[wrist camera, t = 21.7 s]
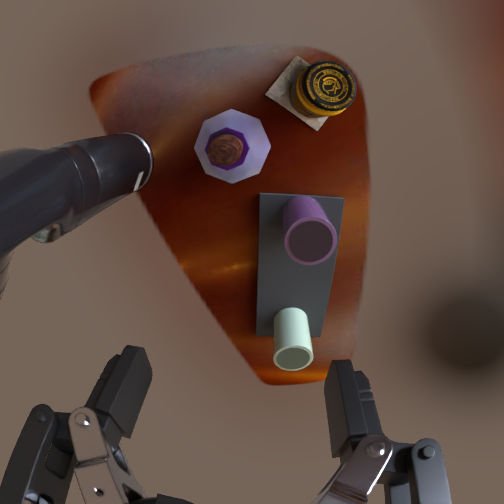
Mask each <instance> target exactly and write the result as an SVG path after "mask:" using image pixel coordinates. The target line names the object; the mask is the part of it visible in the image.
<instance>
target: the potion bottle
mask: <svg viewBox="0 0 504 504" xmlns="http://www.w3.org/2000/svg"><path fill="white" fill-rule="evenodd" d="M270 148H271V145H270V143H269V140H268V138H267V136H266V133H265V131H264V129H263V126H262V124H261V122H260V119H257V118H255V117H252V116H249V115H247V114H244V113H241V112H238V111H236V110H233V109H230V110H228V111H225V112H223V113H221V114H218V115H216V116H214V117H212V118H210V119H208V120H205V121H204V123H203V125H202V128H201V130H200V133H199V136H198V138H197V141H196V144H195V146H194V149H195V151H196V154H197V156H198V158H199V160H200V162H201V164H202V166H203V169H204V171H205V173H206V174H208V175H211V176H214V177H216V178H219V179H222V180H224V181H227V182H229V183H232V184H233V183H236V182H238V181H240V180H243V179H245V178H248V177H250V176H253V175H256V174H258V173H260V171H261V168H262V166H263V164H264V161H265V159H266V157H267V155H268V152H269V150H270Z"/></svg>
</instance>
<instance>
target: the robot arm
mask: <svg viewBox="0 0 504 504" xmlns="http://www.w3.org/2000/svg"><path fill="white" fill-rule="evenodd" d="M153 167H154V158H153V153H152V150H151V148H150V146H149V144H148V143H147V141H146V140H145V139H144V138H143V137H141V136H140V135H138V134H135V133H131V132H124V133H119V134H114V135H107V136H100V137H94V138H89V139H83V140H78V141H73V142H68V143H64V144H60V145H55V146H51V147H47V148H43V149H36V148H26V147H18V148H12V149H7V150H3V151H0V299H1V298H2V296H3V294H4V291H5V288H6V286H7V282H8V277H9V272H10V267H11V262H12V258H13V254H14V249H15V248H16V247H17V246H19V245H20V244H21V243H23V242H24V241H26V240H27V239H28V238H32V239H33V240H35V241H37V242H40V243H52V242H55V241H57V240H59V239H61V238H62V237H63V236H65V235H66V234H68V233H69V232H71V231H72V230H73V229H75V228H76V227H78V226H79V225H81V224H82V223H84V222H85V221H87V220H88V219H90V218H91V217H93V216H94V215H96V214H97V213H99V212H101V211H102V210H104V209H105V208H107V207H109V206H110V205H112V204H114V203H115V202H117V201H119V200H120V199H122V198H124V197H125V196H127V195H129V194H131V193H133V192H135V191H137V190H139V189H141V188H142V187H143V186H144V185H145V184H146V183H147V182H148V180H149V179H150V177H151V175H152V171H153ZM151 380H152V368H151V366H150V363H149V360H148V357H147V355H146V352H145V349H144V348H142V347H137V346H131V345H127V346H126V347H125V348H124V350H123V352H122V353H121V355H117V354H116V355H115V356H114V357H113V358H112V359H110V360H109V361H108V363H107V365H106V366H105V368H104V371H103V372H102V374H101V376H100V379H98V381H97V383H96V385H95V387H94V389H93V391H92V393H91V395H90V397H89V399H88V401H87V403H86V405H85V406H84V407H79V408H77V409H75V410H74V411H72V413H62V412H54V411H53V410H52V409H51V408H50V407H49V406H48V405H45V404H39V405H37V406H35V407H34V408H33V409H32V411H31V412H30V414H29V417H28V418H27V421H26V423H25V425H24V427H23V429H22V431H21V434H20V436H19V438H18V441H17V443H16V445H15V448H14V450H13V453H12V455H11V458H10V460H9V463H8V466H7V468H6V471H5V474H4V477H3V480H2V483H1V486H0V504H65V501H66V498H67V494H68V490H69V487H70V483H71V480H72V476H73V473H74V472H75V475H76V479H77V481H78V485H79V487H80V491H81V493H82V496H83V499H84V501H85V504H193V503H191V502H188V501H186V500H183V499H178V498H173V497H170V496H165V495H161V494H157V497H150V498H148V497H147V495H146V493H145V491H144V490H143V488H142V486H141V485H140V484H139V482H138V481H137V480H136V478H135V476H134V474H133V472H132V470H131V468H130V466H129V463H128V461H127V459H126V456H125V454H124V451H123V449H122V446H121V444H120V440H121V437H122V436H123V437H126V438H129V439H130V438H131V435H132V432H133V429H134V426H135V423H136V421H137V418H138V415H139V412H140V410H141V407H142V404H143V401H144V399H145V396H146V394H147V391H148V388H149V386H150V383H151ZM324 395H325V401H326V409H327V417H328V425H329V433H330V442H331V451H332V458H336V457H340V462H341V464H340V466H339V467H338V469H337V470H336V471H335V473H334V474H333V475H332V477H331V478H330V479H329V481H328V482H327V483H326V484H325V486H324V487H323V488H322V490H321V491H320V492H319V493H318V494H317V496H316V497H315V498H314V499H313V500H312V501H311V502H310V503H309V504H367V501H368V500H367V497H368V495H369V493H370V492H371V490H372V488H373V487H374V485H375V484H376V483H377V484H384V492H385V504H451V497H450V490H449V484H448V479H447V474H446V469H445V464H444V459H443V455H442V451H441V447H440V445H439V444H438V443H437V441H435V440H433V439H430V438H425V439H421V440H419V441H418V442H417V443H415V444H408V443H398V442H394V441H391V440H390V439H389V438H388V437H386V436H385V435H384V433H383V431H382V429H381V425H380V421H379V417H378V413H377V409H376V405H375V401H374V400H373V399H374V398H373V394H372V392H371V387H370V383H369V380H368V379H367V377H366V376H365V375H364V373H363V372H362V371H354V370H353V366H352V362H351V360H350V359H347V360H332V362H331V365H330V368H329V371H328V374H327V377H326V380H325V386H324ZM51 444H52V445H51ZM50 447H51V448H50ZM49 449H50V450H49ZM48 452H49V453H48ZM47 455H48V456H47ZM46 457H47V458H46ZM45 460H46V461H45Z"/></svg>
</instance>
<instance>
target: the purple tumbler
mask: <svg viewBox="0 0 504 504" xmlns="http://www.w3.org/2000/svg"><path fill="white" fill-rule="evenodd" d="M281 219H282V227H283V236H284V244H285V249H286V251H287V253H288V255H289V256H290V257H291V258H292V259H293V260H294V261H296V262H298V263H300V264H303V265H316V264H319V263H322V262H323V261H325V260H326V259H328V258H329V257H330V256H331V255H332V253H333V252H334V250H335V247H336V244H337V235H336V231H335V229H334V227H333V225H332V224H331V222H330V220H329V219H328V217H327V215H326V214H325V212H324V210H323V209H322V207H321V205H320V204H319V203H318V202H317V201H316V200H315V199H314V198H312V197H309V196H297V197H294V198H292V199H290V200H289V201H288V202H287V203H286V204H285V205H284V207H283V210H282V214H281Z"/></svg>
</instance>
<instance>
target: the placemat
mask: <svg viewBox="0 0 504 504" xmlns="http://www.w3.org/2000/svg"><path fill="white" fill-rule="evenodd" d="M297 196H309V197H312V198H314V199H315V200H316V201H317V202H318V203H319V204H320V205H321V207H322V209H323V210H324V212H325V214H326V215H327V217H328V219H329V220H330V222H331V224H332V225H333V227H334V229H335V231H336V235H337V244H336V247H335V250H334V252H333V253H332V255H331V256H330V257H329V258H328V259H326V260H325V261H323V262H322V263H319V264H316V265H303V264H300V263H298V262H296V261H294V260H293V259H292V258H291V257H290V256H289V255H288V253H287V251H286V249H285V244H284V236H283V227H282V219H281V214H282V210H283V207H284V205H285V204H286V203H287V202H288V201H289V200H290V199H292V198H294V197H297ZM343 206H344V198H341V197H328V196H313V195H295V194H274V193H260V201H259V243H258V280H257V315H256V336H273V337H274V317H275V315H276V314H277V313H278V312H279V311H281V310H283V309H285V308H298V309H301V310H302V311H304V312H305V313H306V315H307V318H308V324H309V330H310V337H320V336H321V332H322V327H323V323H324V318H325V314H326V309H327V304H328V299H329V294H330V289H331V284H332V279H333V273H334V267H335V262H336V255H337V249H338V243H339V236H340V229H341V222H342V214H343Z"/></svg>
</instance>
